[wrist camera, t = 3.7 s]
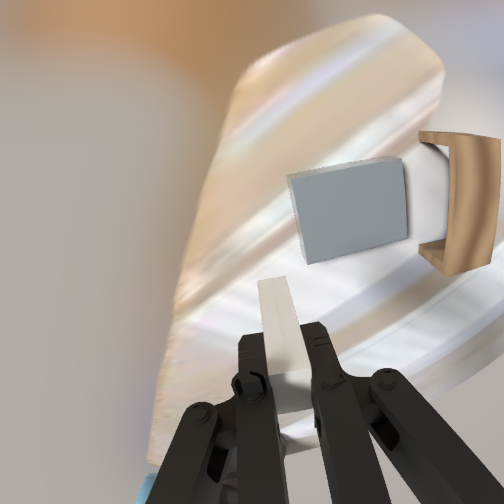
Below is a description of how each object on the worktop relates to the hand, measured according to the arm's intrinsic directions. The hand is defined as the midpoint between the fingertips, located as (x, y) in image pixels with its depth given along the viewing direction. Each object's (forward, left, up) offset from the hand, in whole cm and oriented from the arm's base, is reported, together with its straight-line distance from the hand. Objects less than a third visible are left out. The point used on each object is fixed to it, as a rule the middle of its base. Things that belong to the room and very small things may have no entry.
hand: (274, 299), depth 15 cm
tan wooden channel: (+24, 0, -15) cm, 28 cm away
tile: (+10, 0, -16) cm, 19 cm away
